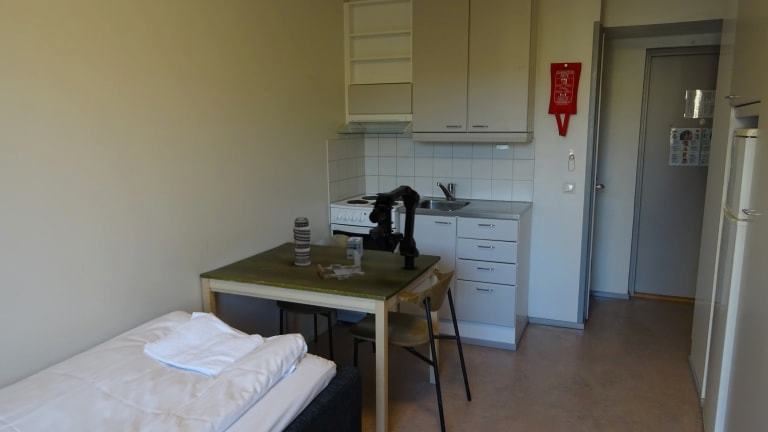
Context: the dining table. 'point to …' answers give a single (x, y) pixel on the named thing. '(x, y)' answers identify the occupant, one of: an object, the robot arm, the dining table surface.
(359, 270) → the bookend
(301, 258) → the decorative candle
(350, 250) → the light bulb box
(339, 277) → the trap lane
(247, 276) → the dining table surface
